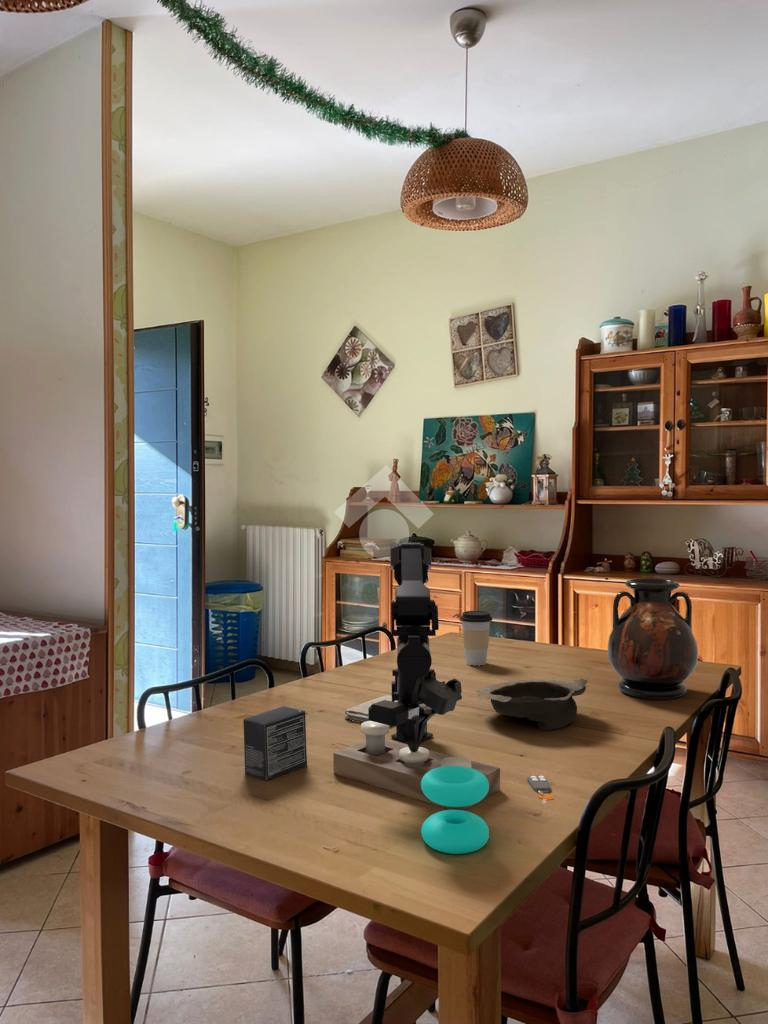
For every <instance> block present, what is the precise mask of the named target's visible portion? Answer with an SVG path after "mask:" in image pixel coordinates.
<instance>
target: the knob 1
mask: <svg viewBox="0 0 768 1024" xmlns="http://www.w3.org/2000/svg"><path fill="white" fill-rule="evenodd" d="M360 732H361V734H363V735H364V736H365V740H366V753H367V754H370V755H374V756H379V755H381V754H384V753H385V739H386V735H387V734H388V733H389V732H390V725H386V724H382V723H377V722H373V721H366V722H363V723H360Z"/></svg>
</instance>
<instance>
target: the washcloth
mask: <svg viewBox="0 0 768 1024" xmlns="http://www.w3.org/2000/svg"><path fill="white" fill-rule="evenodd" d="M383 700H387V701H392V695H389V694H387V695H381V696H379V697H378V698H377V697H376V698H373V699H371V700H367V701H365V702H363V703H360V704H357V705H355V706H353V707H349V708H348V709H345V711H344V714H345V715H346V716H345V717H344V720H349V719H350V720H349V721H351V720H353V721H352V722H354V721H357V722H356V723H358V722H362V723H363V722H366V721H369V720H368V708H369V707H370V706H371V705H372V704H374V703H377V702H380V701H383ZM395 702H398V701H395ZM362 723H361V724H362Z"/></svg>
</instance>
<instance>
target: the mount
mask: <svg viewBox="0 0 768 1024" xmlns="http://www.w3.org/2000/svg"><path fill="white" fill-rule="evenodd" d="M405 747H408V745H407V743H403V742H401V741H395V740H391V739H388V738H385V753H384V754H381V755H379V756H374V755H370V754H367V753H366V739H365V740H363V741H360V742H358V743H355V744H353V745H350V746H347V747H345V748H342V749H340V750H337V751H335V752H333V759H332V760H333V774H334V775H338V776H341V777H344V778H347V779H351V780H353V781H357V782H360V783H363V784H367V785H369V786H373V787H376V788H380V789H383V790H386V791H390V792H392V793H396V794H399V795H403V796H406V797H409V798H413V799H416V800H420V801H422V802H426V803H429V804H432V805H435V806H438V807H441V808H444V809H447V810H463V811H467V810H468V809H470V808H472V807H474V806H475V805H476V804H478V803H480V802H481V801H484V800H485V799H487V798H488V797H490V796H492V795H494V794H495V793H497V792H499V791H500V790H501V768H500V767H498V766H493V765H489V764H487V763H481V762H479V761H473V760H470V761H471V766H472V769H475V770H477V771H479V772H481V773H482V774H483V775H485V777H486V778H487V780H488V783H489V790H488V793H487V795H486V796H485V797H484V798H483V799H482V800H481V801H479V802H478V803H475V804H473V805H469V806H464V807H449V806H444V805H440V804H437V803H435V802H433V801H431V800H430V799H428V798H427V797H426V796H425V794H424V793H423V791H422V788H421V781H422V778H423V776H424V775H425V774H426V773H427V772H429V771H430V770H432V769H435V768H438V767H441V760H443V759H445V758H448V757H456V756H453V755H450V754H446V753H442V752H439V751H436V750H435V751H434V750H430V749H428V751H429V759H428V760H427V761H425V762H424V764H423V765H421V766H419V767H414V766H410V765H407V764H404V762H403V761H401V760H400V758H399V751H400V750H401V749H402V748H405Z"/></svg>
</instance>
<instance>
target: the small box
mask: <svg viewBox="0 0 768 1024" xmlns="http://www.w3.org/2000/svg"><path fill="white" fill-rule="evenodd" d="M242 721H243V747H244V749H243V751H244V754H243V755H244V775H247V776H250V777H254V778H255V779H259V780H261V781H262V780H263V781H265V782H268V781H270V780H273V779H275V778H278V777H280V776H283V775H285V774H288V773H290V772H293V771H295V770H297V769H301V768H302V767H306V766H308V757H307V756H308V755H307V729H306V728H307V727H306V723H307V722H306V710H303V709H298V708H295V707H288V706H284V705H283V706H280V707H277V708H273V709H271V710H268V711H264V712H262V713H259V714H256V715H252V716H249V717H245V718H243V720H242Z"/></svg>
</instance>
